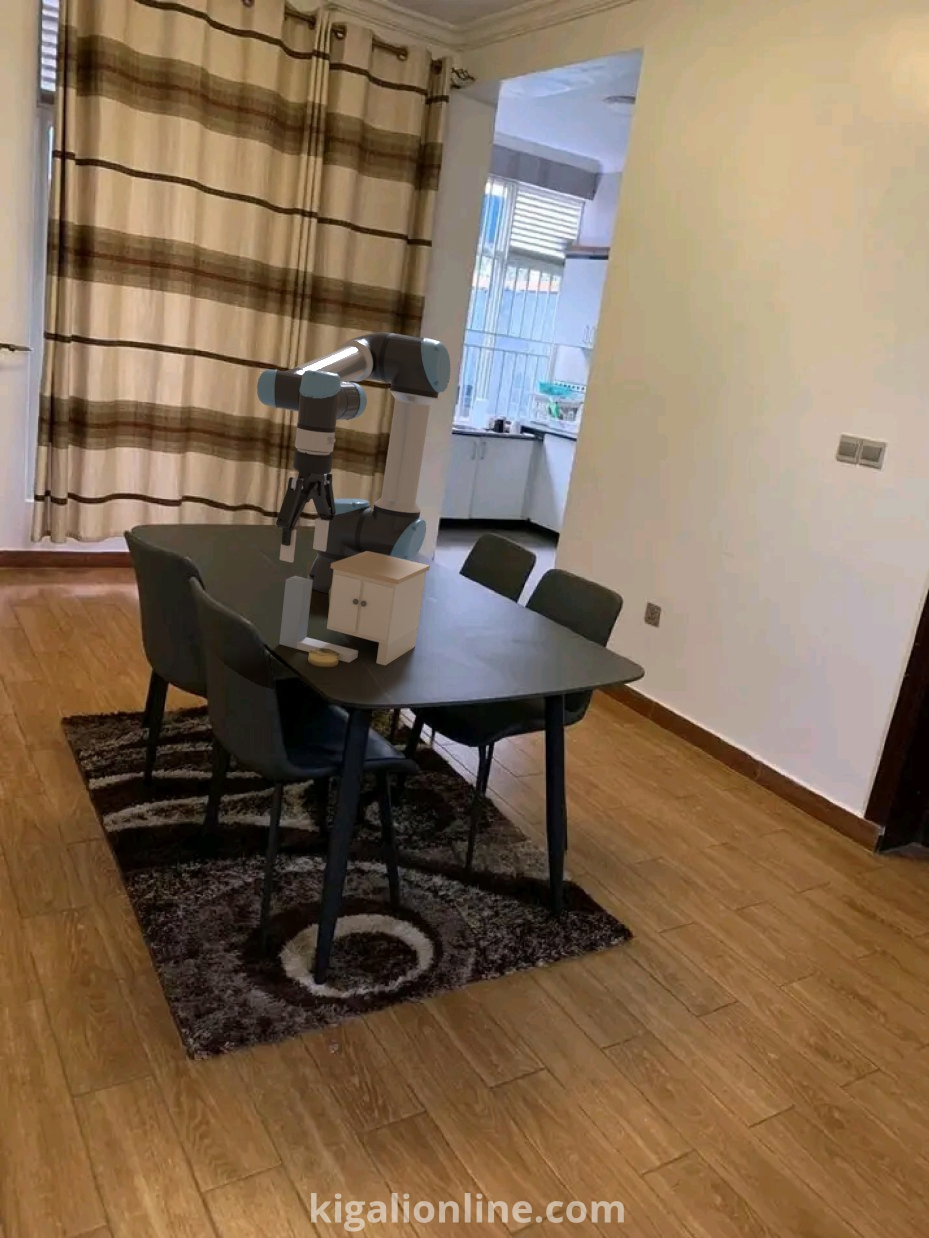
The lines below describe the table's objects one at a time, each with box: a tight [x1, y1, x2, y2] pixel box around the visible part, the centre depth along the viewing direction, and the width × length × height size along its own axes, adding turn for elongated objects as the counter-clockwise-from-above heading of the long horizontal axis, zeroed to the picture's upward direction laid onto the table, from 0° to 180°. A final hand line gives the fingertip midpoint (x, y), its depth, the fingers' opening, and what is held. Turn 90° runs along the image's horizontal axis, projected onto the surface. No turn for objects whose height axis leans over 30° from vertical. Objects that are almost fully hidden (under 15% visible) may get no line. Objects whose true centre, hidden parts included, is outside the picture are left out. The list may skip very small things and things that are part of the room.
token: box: [307, 648, 340, 668], centre depth 187 cm, size 6×6×2 cm
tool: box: [279, 575, 359, 663], centre depth 191 cm, size 16×4×14 cm, turn 71°
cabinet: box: [326, 551, 431, 666], centre depth 197 cm, size 15×18×18 cm
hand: (303, 555), depth 190 cm, fingers open, 13 cm apart
